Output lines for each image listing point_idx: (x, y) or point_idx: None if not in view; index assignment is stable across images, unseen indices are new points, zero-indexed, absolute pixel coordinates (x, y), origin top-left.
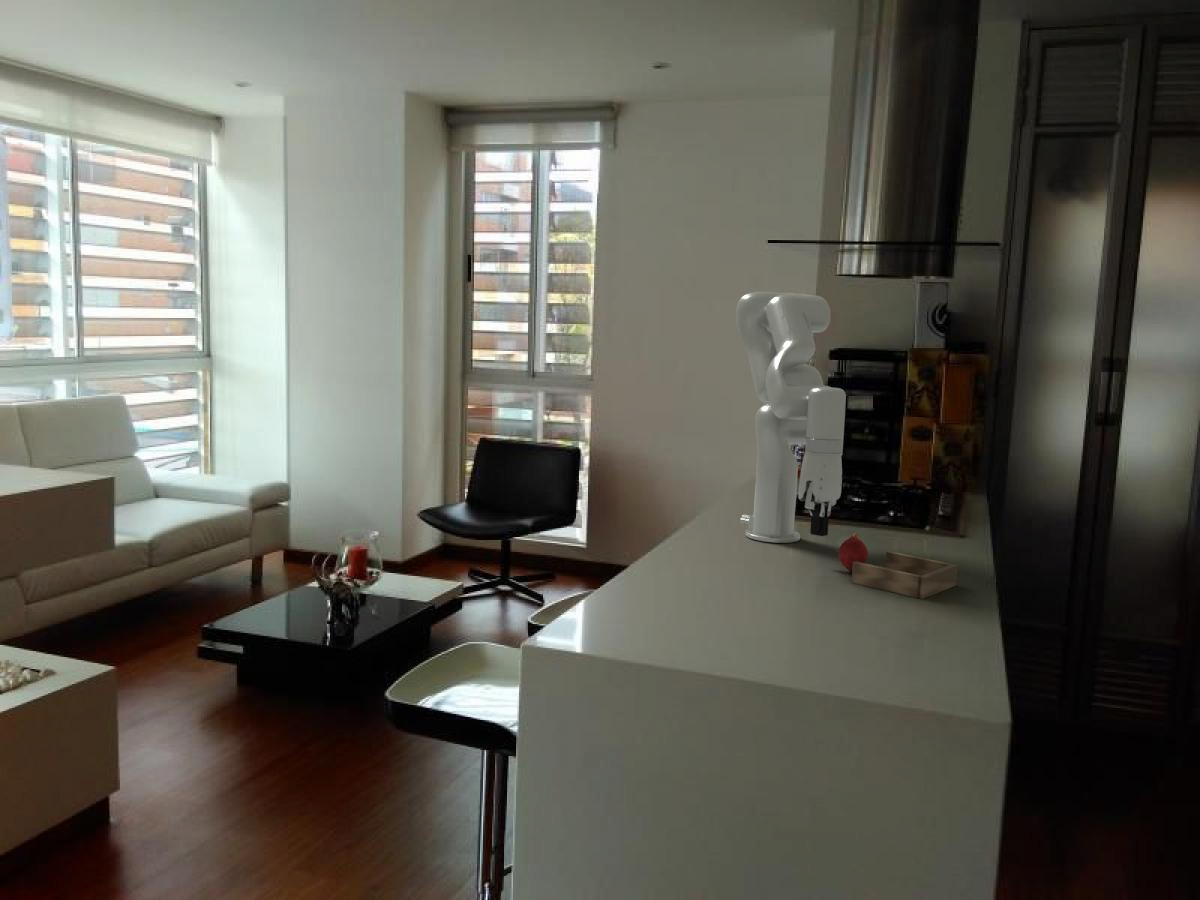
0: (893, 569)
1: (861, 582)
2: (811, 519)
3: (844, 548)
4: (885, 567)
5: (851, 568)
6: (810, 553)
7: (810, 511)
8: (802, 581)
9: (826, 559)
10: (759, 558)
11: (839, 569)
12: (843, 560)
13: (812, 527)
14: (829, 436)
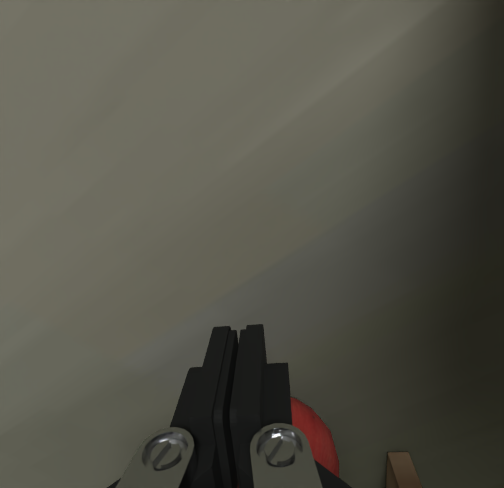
0: (389, 486)
1: None
2: (197, 391)
3: None
4: (391, 465)
5: None
6: (425, 138)
7: (127, 471)
8: (22, 373)
9: (374, 252)
10: (105, 55)
11: (269, 363)
12: None
13: (186, 378)
14: None
